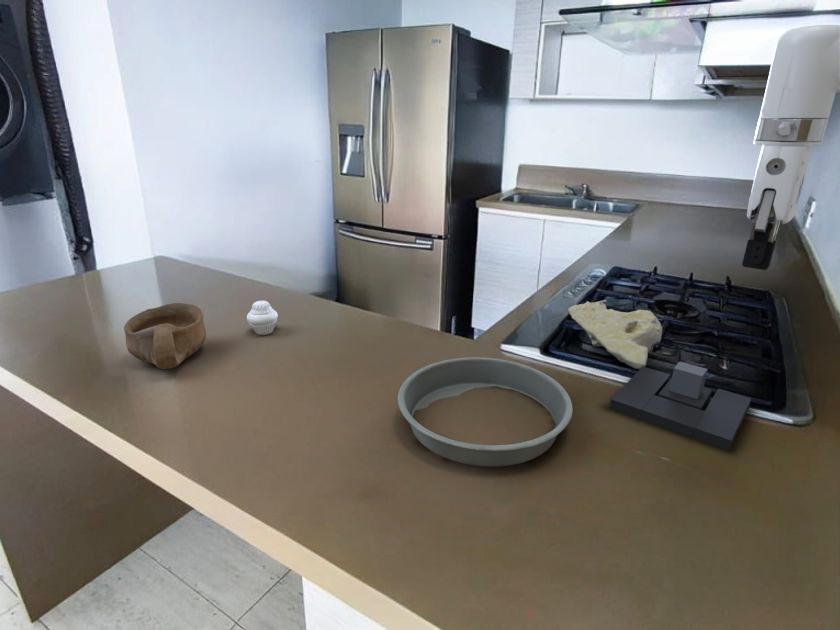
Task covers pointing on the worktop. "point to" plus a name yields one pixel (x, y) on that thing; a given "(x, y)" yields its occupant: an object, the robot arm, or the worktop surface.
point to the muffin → (262, 318)
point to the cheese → (619, 331)
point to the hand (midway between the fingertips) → (755, 266)
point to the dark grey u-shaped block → (682, 409)
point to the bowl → (165, 334)
